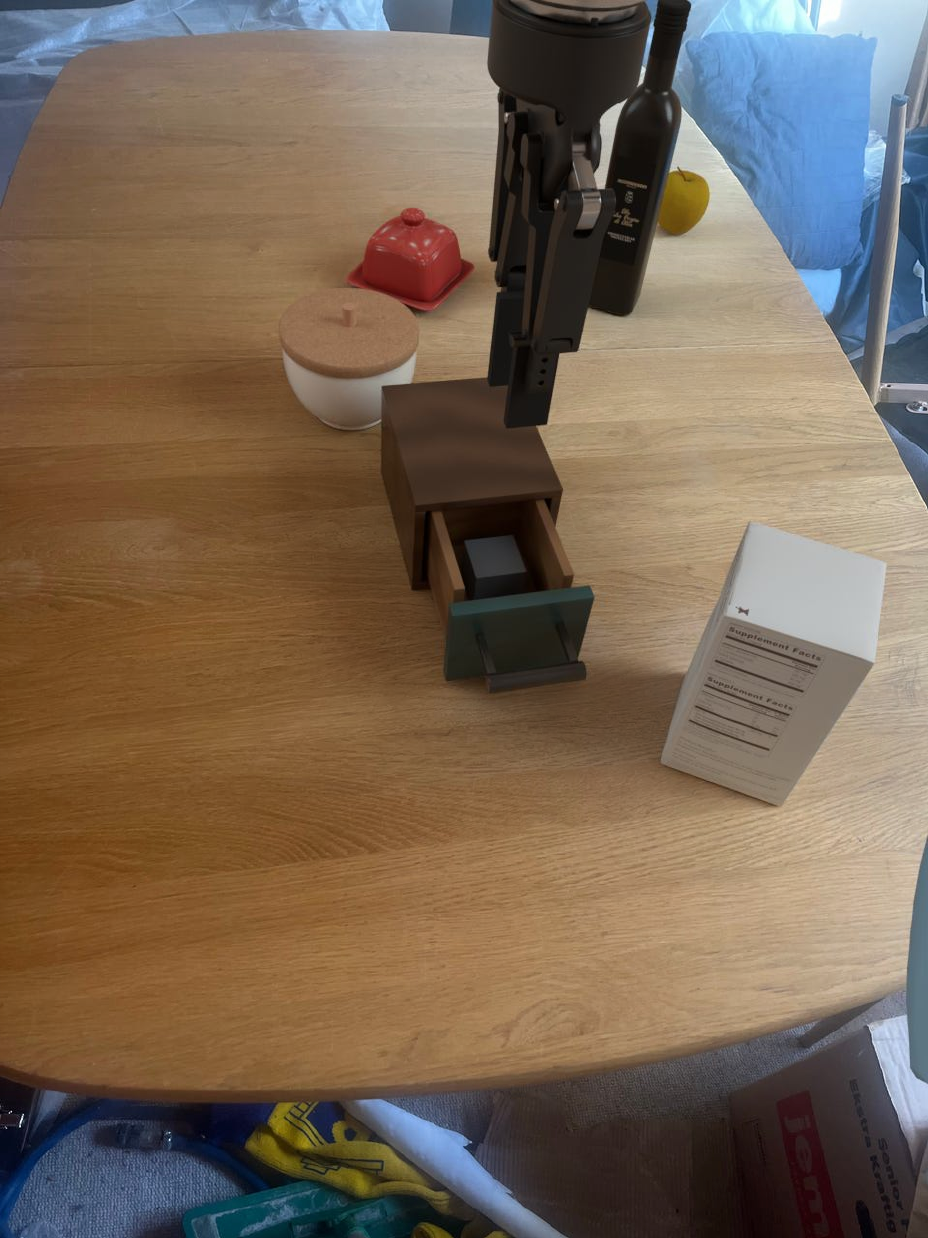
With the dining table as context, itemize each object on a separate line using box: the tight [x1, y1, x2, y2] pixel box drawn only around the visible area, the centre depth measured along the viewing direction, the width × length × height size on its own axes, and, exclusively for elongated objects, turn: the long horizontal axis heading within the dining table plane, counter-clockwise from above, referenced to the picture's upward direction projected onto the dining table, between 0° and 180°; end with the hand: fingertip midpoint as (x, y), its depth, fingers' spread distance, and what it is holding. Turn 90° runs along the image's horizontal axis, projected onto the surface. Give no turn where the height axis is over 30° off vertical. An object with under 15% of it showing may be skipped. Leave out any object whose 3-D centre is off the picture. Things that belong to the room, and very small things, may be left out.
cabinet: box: [380, 376, 564, 591], centre depth 81 cm, size 15×12×10 cm
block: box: [461, 535, 527, 601], centre depth 75 cm, size 4×4×4 cm
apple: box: [657, 165, 711, 235], centre depth 117 cm, size 6×6×8 cm
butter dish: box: [345, 207, 475, 312], centre depth 105 cm, size 12×12×8 cm
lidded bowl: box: [278, 287, 420, 431], centre depth 89 cm, size 13×13×11 cm
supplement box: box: [660, 520, 888, 807], centre depth 65 cm, size 10×9×17 cm
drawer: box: [423, 499, 595, 695], centre depth 73 cm, size 18×10×8 cm, turn 13°
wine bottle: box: [588, 0, 692, 316], centre depth 97 cm, size 6×6×30 cm
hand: (516, 401), depth 62 cm, fingers open, 4 cm apart
